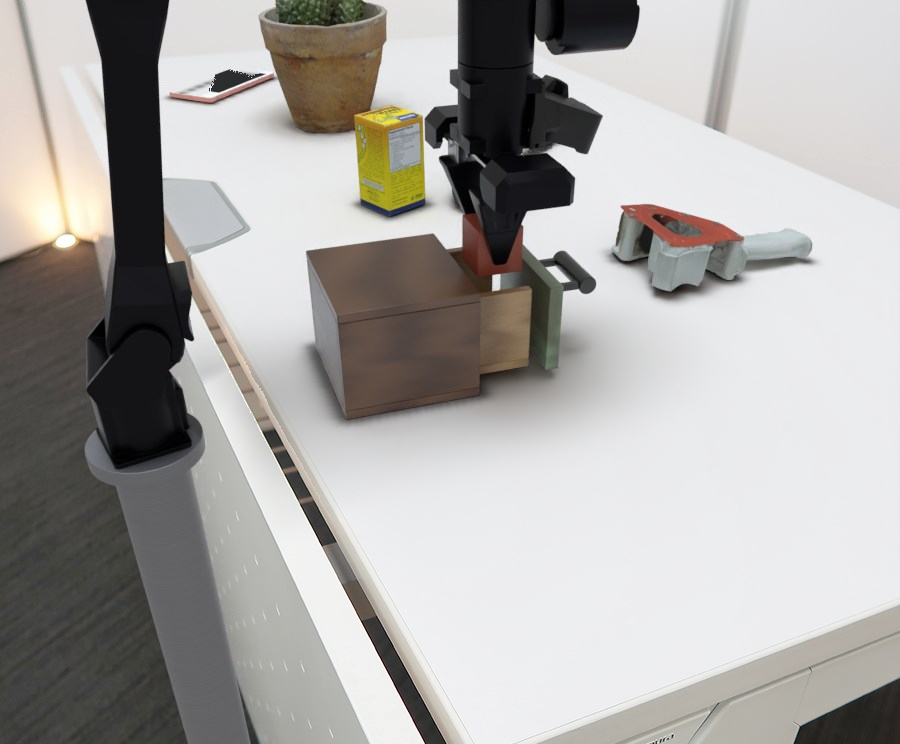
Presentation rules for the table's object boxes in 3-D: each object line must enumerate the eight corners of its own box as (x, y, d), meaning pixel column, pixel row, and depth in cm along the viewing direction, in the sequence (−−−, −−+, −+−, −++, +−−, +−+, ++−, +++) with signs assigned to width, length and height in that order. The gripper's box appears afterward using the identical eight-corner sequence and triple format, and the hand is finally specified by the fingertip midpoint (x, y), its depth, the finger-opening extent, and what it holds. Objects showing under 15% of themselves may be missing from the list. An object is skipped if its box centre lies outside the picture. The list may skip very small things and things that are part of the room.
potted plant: (360, 147, 132) (348, -50, 117) (247, 133, 137) (221, -56, 123) (409, 111, 146) (403, -68, 131) (304, 100, 151) (288, -73, 136)
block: (477, 277, 77) (477, 232, 75) (461, 258, 80) (462, 214, 78) (521, 271, 78) (523, 226, 76) (505, 252, 81) (506, 208, 79)
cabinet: (435, 327, 88) (433, 232, 83) (479, 395, 79) (481, 292, 73) (315, 347, 85) (305, 250, 80) (346, 419, 76) (336, 315, 70)
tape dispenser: (806, 267, 102) (631, 227, 108) (821, 221, 99) (640, 182, 105) (782, 331, 88) (584, 280, 95) (798, 279, 85) (592, 231, 92)
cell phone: (168, 97, 153) (167, 91, 153) (235, 71, 166) (234, 66, 166) (211, 103, 150) (210, 97, 149) (275, 77, 163) (275, 71, 162)
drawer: (552, 303, 90) (557, 227, 86) (604, 359, 81) (612, 278, 77) (406, 327, 86) (403, 249, 82) (443, 388, 78) (442, 305, 73)
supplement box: (395, 192, 117) (391, 103, 111) (426, 205, 114) (424, 114, 107) (358, 204, 114) (352, 113, 108) (389, 217, 111) (384, 125, 104)
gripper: (651, 81, 64) (627, 286, 73) (546, 26, 78) (537, 204, 88) (501, 96, 61) (495, 307, 71) (420, 36, 76) (424, 218, 85)
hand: (491, 254), depth 78 cm, fingers closed on block, 4 cm apart
